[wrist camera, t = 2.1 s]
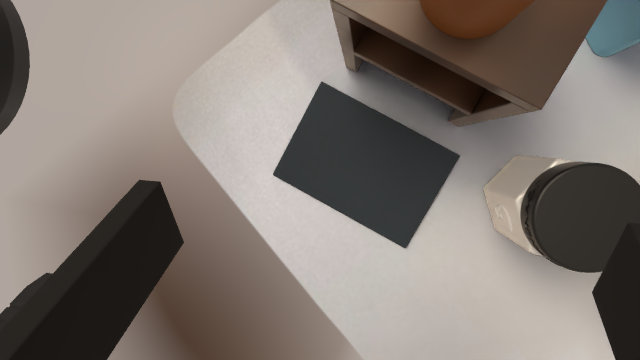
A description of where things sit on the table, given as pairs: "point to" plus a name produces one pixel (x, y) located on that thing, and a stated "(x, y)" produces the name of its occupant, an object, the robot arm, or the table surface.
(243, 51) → the table surface
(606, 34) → the blue doll chair
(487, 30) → the spice bottle
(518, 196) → the jar
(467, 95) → the block
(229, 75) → the table surface
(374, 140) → the mat
